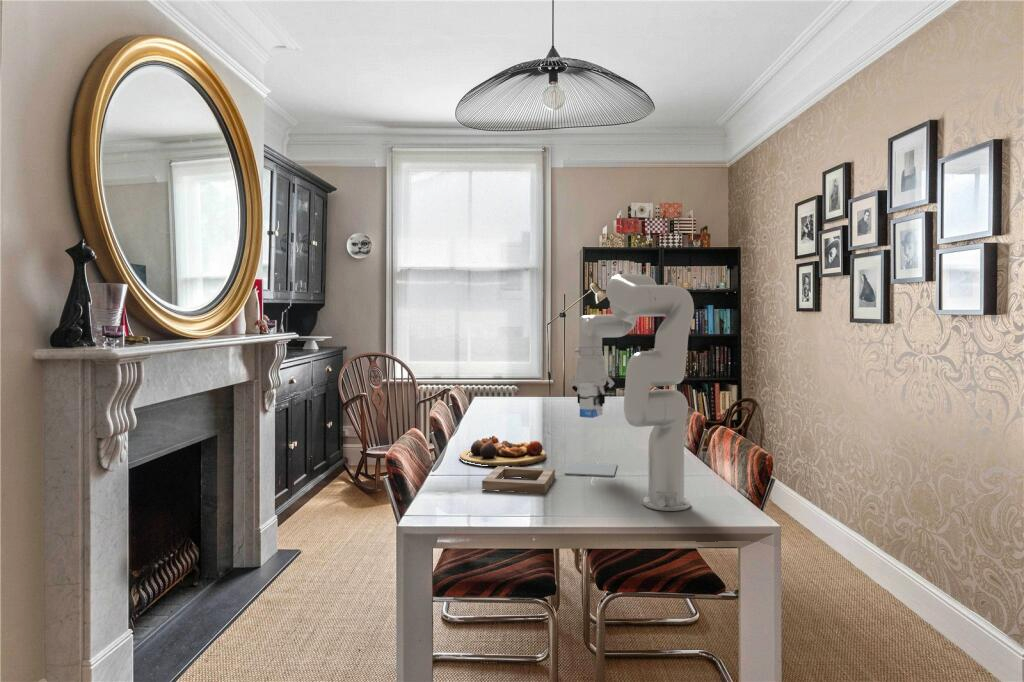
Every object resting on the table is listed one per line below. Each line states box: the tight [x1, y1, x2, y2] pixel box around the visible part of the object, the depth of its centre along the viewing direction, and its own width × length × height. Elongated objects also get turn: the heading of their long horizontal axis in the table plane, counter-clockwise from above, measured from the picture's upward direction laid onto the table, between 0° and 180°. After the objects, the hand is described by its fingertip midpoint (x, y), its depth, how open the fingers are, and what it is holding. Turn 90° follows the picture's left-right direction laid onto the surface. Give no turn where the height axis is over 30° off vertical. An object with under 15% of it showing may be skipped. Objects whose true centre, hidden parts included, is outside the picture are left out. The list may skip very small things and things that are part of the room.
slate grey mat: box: [564, 461, 618, 478], centre depth 215 cm, size 16×16×1 cm
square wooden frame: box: [481, 466, 556, 495], centre depth 198 cm, size 19×19×3 cm
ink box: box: [579, 382, 604, 419], centre depth 214 cm, size 8×5×12 cm, turn 148°
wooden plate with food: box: [459, 435, 547, 467], centre depth 235 cm, size 32×32×8 cm
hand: (591, 405), depth 214 cm, fingers closed on ink box, 6 cm apart
